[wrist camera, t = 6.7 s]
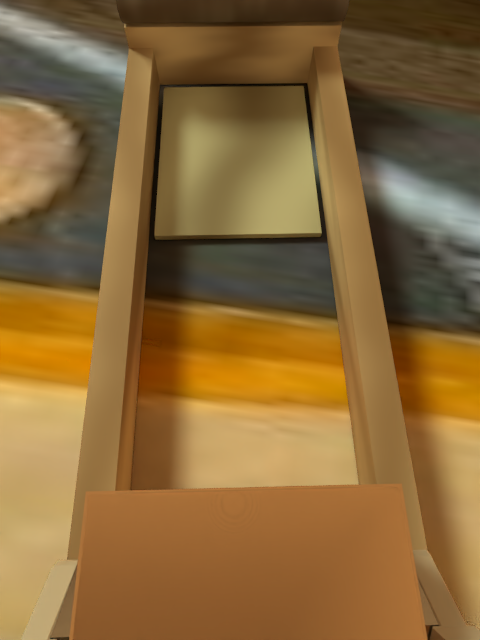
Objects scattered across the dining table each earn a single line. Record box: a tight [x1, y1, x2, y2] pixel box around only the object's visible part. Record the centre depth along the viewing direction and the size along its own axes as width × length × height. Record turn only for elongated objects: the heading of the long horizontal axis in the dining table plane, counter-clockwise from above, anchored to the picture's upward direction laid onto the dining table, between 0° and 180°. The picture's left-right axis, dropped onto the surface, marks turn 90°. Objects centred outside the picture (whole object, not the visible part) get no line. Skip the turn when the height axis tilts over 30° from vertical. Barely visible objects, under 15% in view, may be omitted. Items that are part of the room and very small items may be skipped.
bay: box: [67, 0, 428, 560], centre depth 15 cm, size 10×32×5 cm, turn 1°
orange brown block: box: [69, 484, 427, 640], centre depth 10 cm, size 5×5×8 cm
